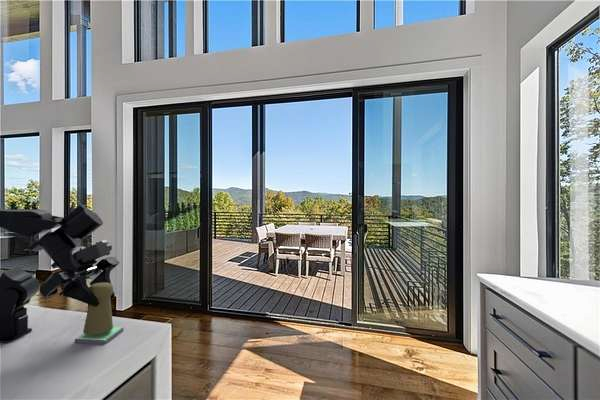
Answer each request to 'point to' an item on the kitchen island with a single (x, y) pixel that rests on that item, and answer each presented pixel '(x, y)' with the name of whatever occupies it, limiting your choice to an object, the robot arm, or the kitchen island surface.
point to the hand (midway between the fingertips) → (105, 301)
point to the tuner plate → (99, 337)
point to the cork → (99, 310)
